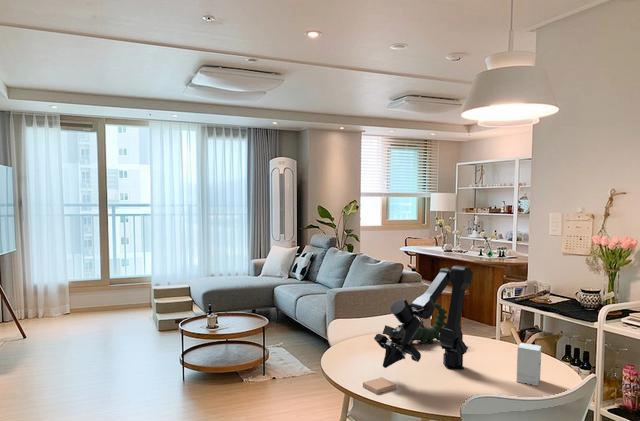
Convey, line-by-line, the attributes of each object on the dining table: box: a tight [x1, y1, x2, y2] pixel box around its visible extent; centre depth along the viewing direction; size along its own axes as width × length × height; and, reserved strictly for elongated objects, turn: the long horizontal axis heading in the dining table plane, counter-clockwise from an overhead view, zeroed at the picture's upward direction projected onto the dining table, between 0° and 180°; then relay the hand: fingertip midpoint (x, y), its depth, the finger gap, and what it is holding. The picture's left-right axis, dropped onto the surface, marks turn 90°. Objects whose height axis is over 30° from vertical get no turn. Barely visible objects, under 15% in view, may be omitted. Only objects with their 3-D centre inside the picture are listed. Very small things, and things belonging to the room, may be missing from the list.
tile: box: [362, 377, 397, 395], centre depth 158 cm, size 2×7×9 cm
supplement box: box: [516, 342, 542, 386], centre depth 166 cm, size 7×7×13 cm
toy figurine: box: [397, 302, 448, 345], centre depth 209 cm, size 9×19×25 cm
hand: (383, 367), depth 159 cm, fingers closed
